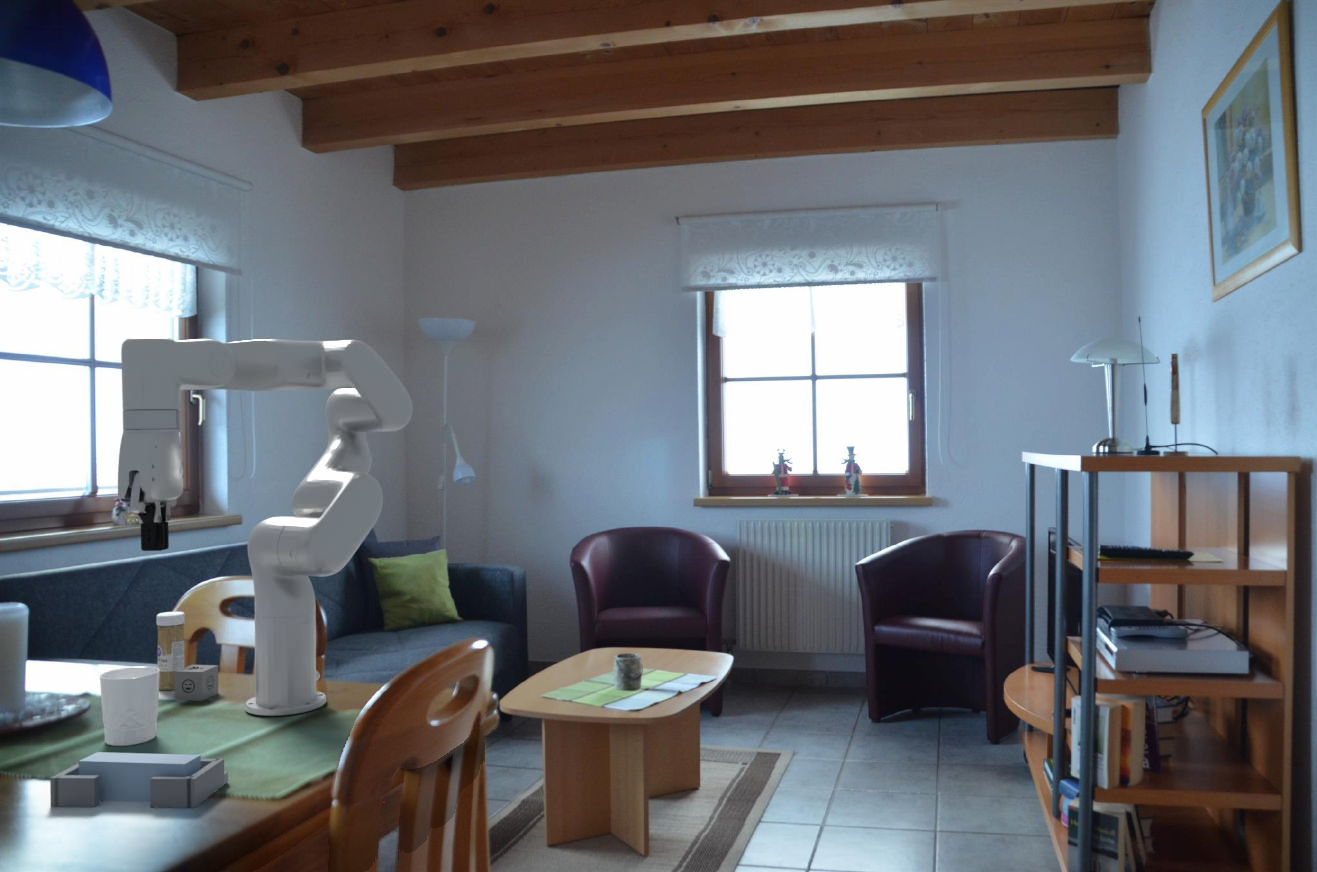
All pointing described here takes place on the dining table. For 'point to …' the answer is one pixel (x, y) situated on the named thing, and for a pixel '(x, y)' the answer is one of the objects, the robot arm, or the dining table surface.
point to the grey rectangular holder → (164, 789)
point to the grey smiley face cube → (196, 682)
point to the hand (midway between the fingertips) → (155, 549)
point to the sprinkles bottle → (170, 647)
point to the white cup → (130, 705)
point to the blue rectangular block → (134, 772)
